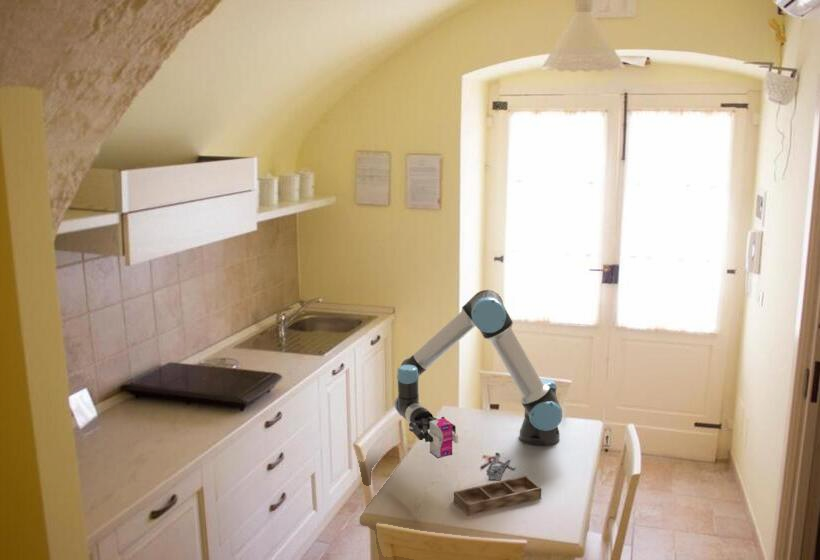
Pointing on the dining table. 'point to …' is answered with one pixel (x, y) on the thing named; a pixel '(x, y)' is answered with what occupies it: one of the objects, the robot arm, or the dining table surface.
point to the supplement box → (441, 437)
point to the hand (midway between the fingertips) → (447, 441)
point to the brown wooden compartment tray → (497, 495)
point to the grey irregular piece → (496, 469)
